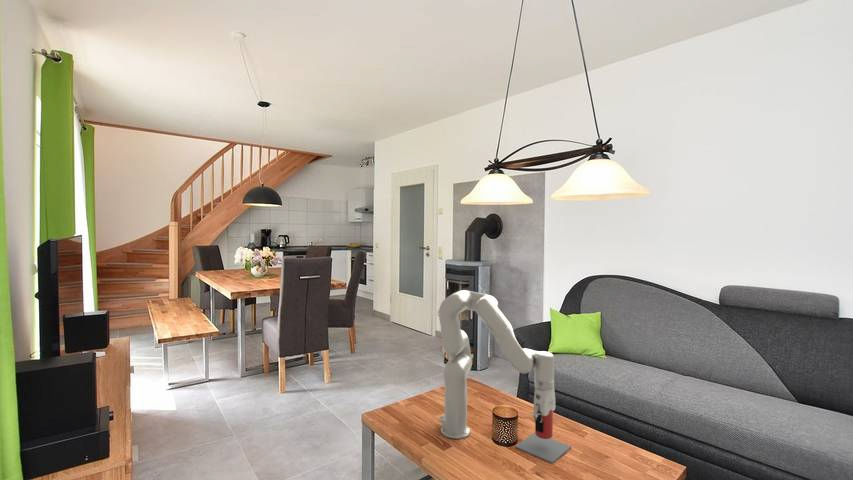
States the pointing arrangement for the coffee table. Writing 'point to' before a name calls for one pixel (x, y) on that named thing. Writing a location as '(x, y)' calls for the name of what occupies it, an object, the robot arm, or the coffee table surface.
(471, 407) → the coffee table surface
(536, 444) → the slate mat
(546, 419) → the beer can
